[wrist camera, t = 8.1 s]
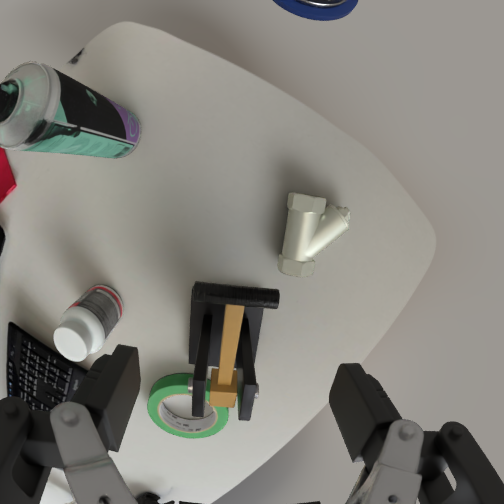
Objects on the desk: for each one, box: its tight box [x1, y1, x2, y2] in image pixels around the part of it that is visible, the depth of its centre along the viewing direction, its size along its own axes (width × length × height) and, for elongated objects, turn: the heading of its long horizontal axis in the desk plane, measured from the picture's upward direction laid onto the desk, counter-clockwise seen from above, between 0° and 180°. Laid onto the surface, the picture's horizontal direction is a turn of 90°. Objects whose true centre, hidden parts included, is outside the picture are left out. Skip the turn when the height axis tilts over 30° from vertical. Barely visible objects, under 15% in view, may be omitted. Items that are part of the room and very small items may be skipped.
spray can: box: [0, 62, 141, 158], centre depth 18 cm, size 6×6×20 cm
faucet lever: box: [193, 281, 280, 408], centre depth 21 cm, size 13×5×2 cm, turn 173°
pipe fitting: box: [277, 192, 351, 277], centre depth 30 cm, size 8×4×7 cm
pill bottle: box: [54, 285, 123, 361], centre depth 27 cm, size 5×5×10 cm
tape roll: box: [147, 374, 228, 438], centre depth 35 cm, size 11×11×3 cm
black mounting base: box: [188, 286, 263, 421], centre depth 28 cm, size 10×8×13 cm
